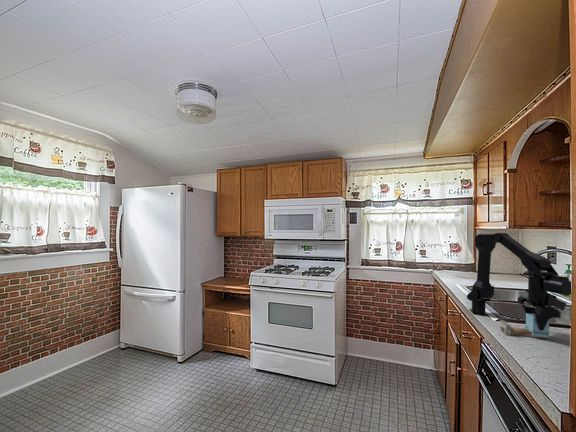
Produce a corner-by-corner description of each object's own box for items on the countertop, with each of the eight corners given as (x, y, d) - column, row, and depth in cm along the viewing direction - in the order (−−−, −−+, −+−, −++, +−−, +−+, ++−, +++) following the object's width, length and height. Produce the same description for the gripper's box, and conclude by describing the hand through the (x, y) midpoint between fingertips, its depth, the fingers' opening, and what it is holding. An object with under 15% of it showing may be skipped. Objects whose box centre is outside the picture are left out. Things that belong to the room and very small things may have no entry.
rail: (505, 335, 111) (506, 325, 111) (499, 329, 116) (499, 320, 116) (549, 340, 106) (549, 330, 106) (540, 334, 112) (540, 324, 112)
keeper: (533, 335, 108) (533, 317, 108) (525, 330, 113) (526, 313, 113) (548, 337, 106) (549, 319, 106) (540, 332, 112) (541, 314, 112)
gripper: (579, 297, 98) (578, 340, 98) (548, 285, 116) (548, 322, 116) (541, 293, 102) (540, 335, 102) (517, 282, 120) (516, 318, 120)
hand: (537, 327), depth 110 cm, fingers closed on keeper, 6 cm apart
